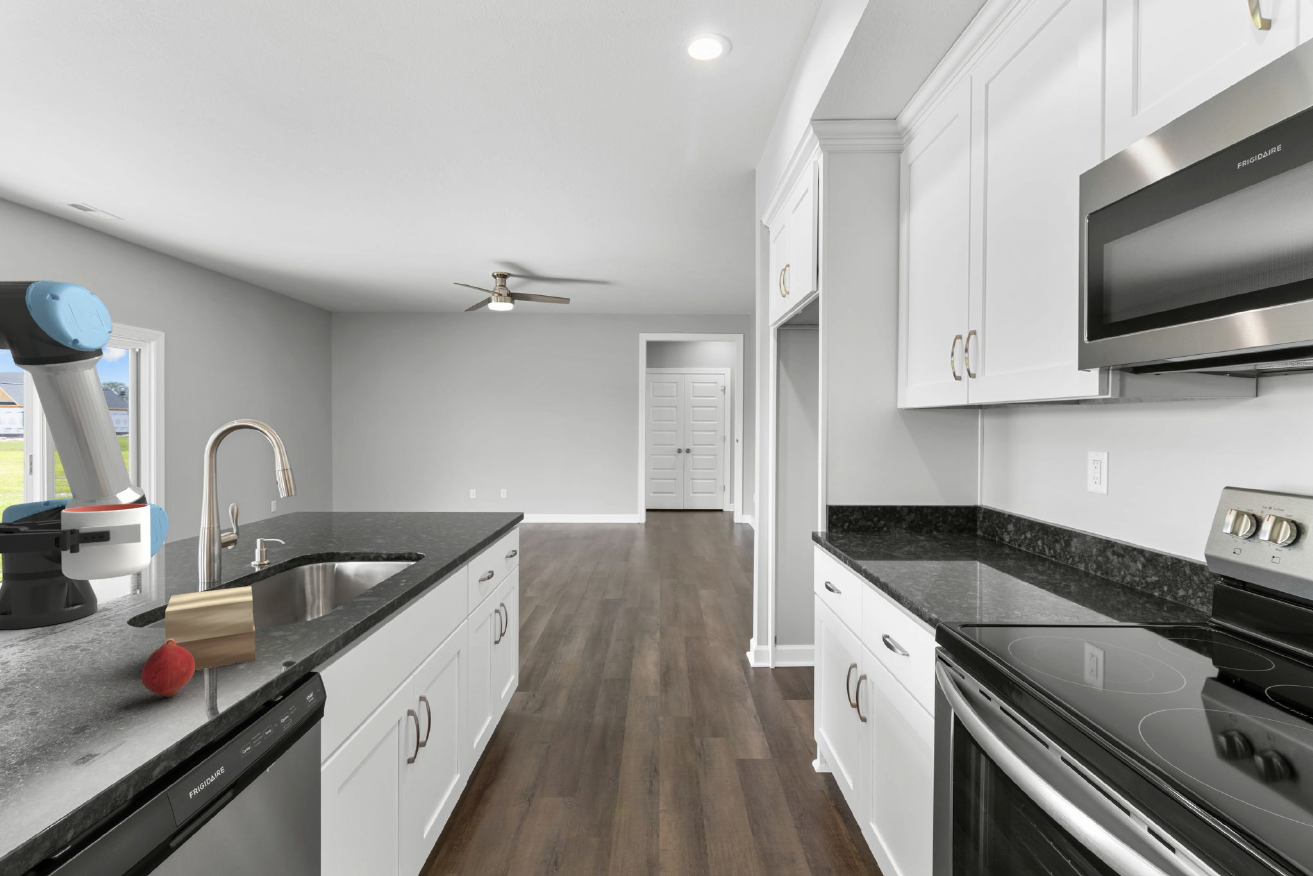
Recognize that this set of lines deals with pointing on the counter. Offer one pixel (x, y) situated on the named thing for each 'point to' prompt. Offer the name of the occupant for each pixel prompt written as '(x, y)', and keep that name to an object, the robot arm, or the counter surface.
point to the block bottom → (222, 649)
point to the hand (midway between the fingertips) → (144, 527)
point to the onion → (168, 669)
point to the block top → (209, 614)
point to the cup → (107, 557)
